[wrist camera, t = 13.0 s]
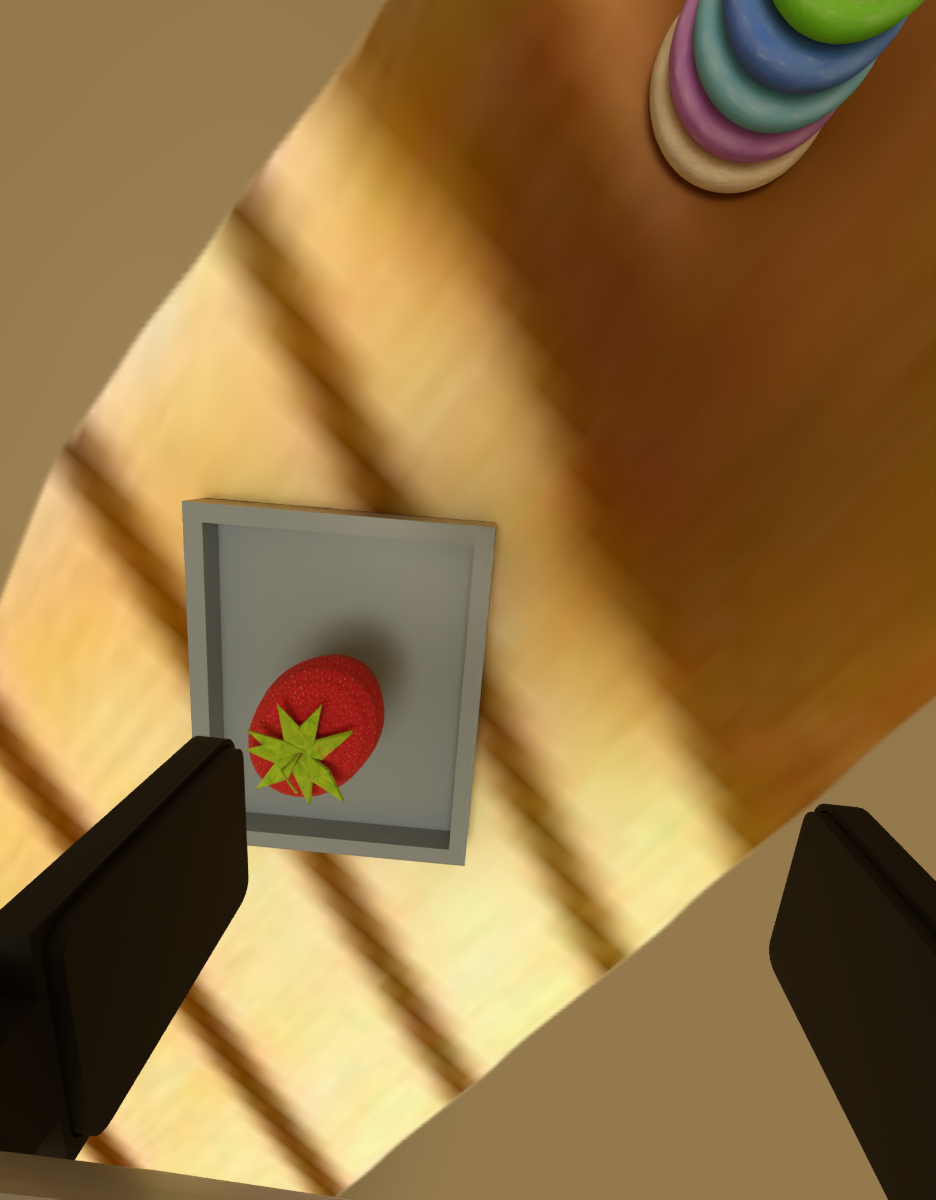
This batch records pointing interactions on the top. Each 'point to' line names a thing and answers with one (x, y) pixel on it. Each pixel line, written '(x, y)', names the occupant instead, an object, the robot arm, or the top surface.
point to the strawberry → (316, 726)
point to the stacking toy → (760, 81)
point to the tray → (354, 628)
